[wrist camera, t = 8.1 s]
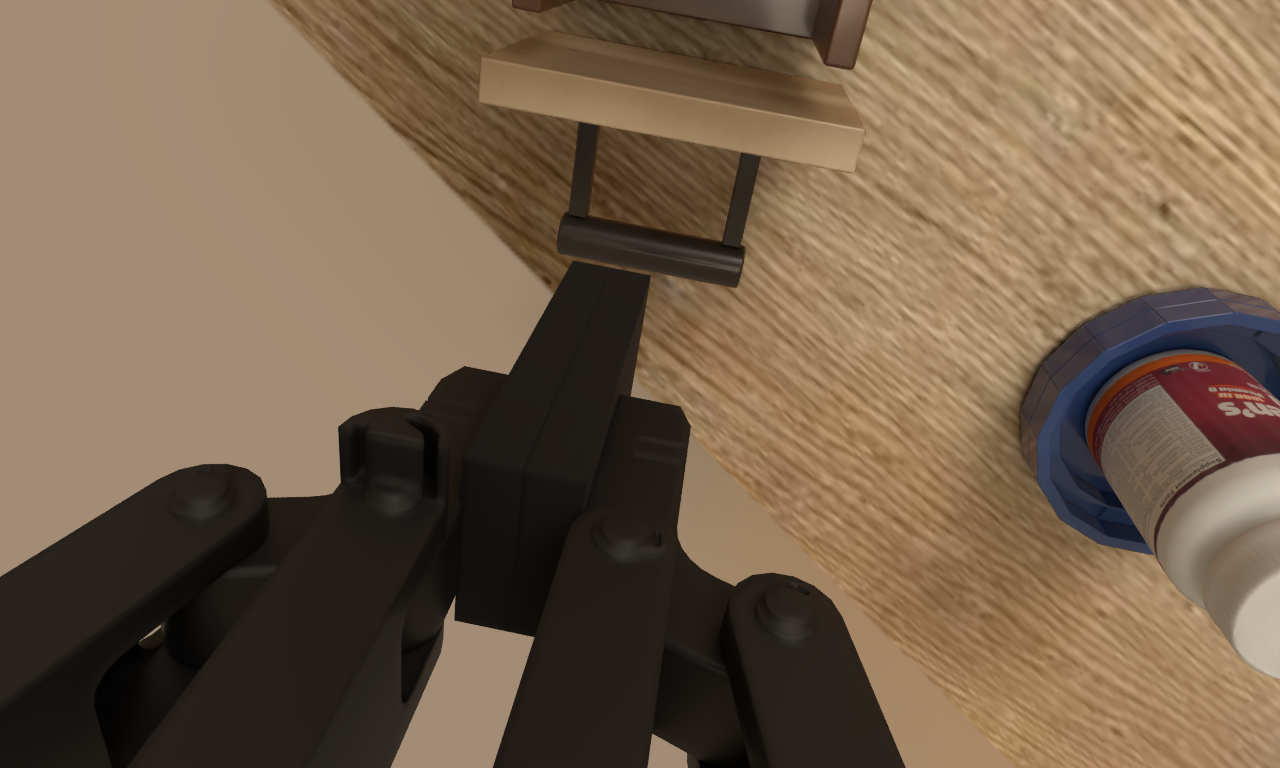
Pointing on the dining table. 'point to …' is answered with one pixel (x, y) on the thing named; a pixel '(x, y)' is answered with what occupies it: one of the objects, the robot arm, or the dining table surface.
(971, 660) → the dining table surface
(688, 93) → the drawer
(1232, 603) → the pill bottle
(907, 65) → the dining table surface
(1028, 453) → the bowl
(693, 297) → the dining table surface
